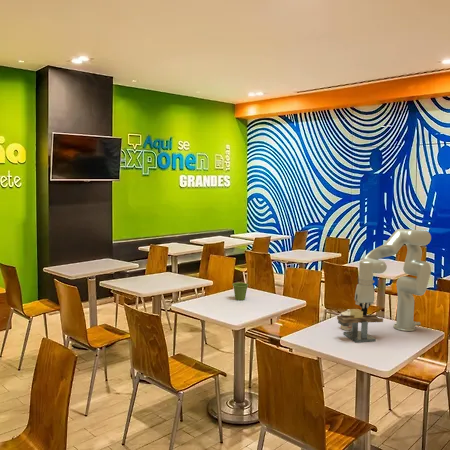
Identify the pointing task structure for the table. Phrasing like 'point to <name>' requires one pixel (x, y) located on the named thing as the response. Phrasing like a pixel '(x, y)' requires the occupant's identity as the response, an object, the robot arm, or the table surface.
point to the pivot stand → (359, 333)
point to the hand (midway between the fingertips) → (364, 314)
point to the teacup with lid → (349, 323)
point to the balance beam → (346, 319)
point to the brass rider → (356, 314)
